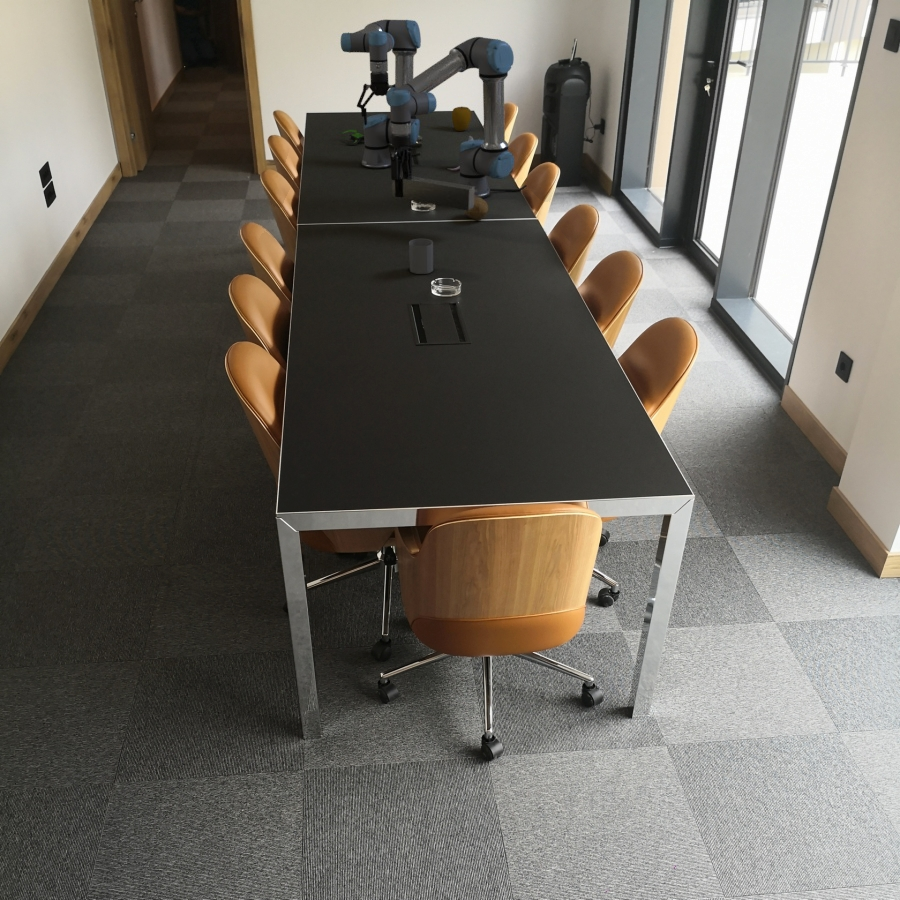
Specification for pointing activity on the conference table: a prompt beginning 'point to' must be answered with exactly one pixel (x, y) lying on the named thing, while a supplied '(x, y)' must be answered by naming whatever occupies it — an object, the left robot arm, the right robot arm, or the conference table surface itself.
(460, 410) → the conference table surface
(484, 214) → the potato
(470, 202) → the bar
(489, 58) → the right robot arm
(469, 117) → the yellow bell pepper
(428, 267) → the cup
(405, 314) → the conference table surface
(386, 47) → the left robot arm
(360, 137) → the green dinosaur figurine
